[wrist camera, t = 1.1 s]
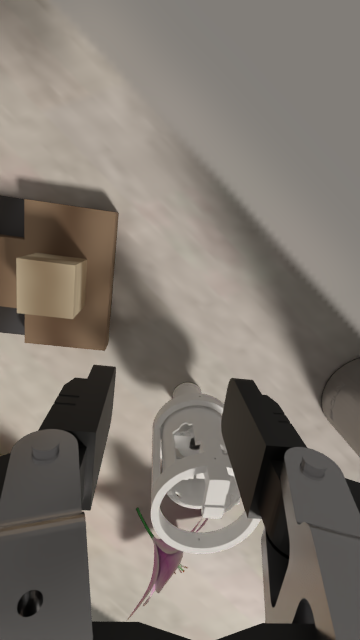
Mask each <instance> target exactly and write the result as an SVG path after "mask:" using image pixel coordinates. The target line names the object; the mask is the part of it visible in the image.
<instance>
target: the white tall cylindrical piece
mask: <svg viewBox="0 0 360 640" xmlns="http://www.w3.org/2000/svg"><path fill="white" fill-rule="evenodd" d="M223 408H224V404H223V403H222V402H221V401H220V400H218V399H216V398H215V397H212V396H210V395H207V394H202V392H201V389H200V388H199V387H198V386H197V385H196V384H193V383H182V384H180V385H179V386H177V387H176V388H175V390H174V392H173V399H172V400H170V401H168V402H167V403H166V404H165V405H164V406H163V407H162V408H161V409H160V410H159V411H158V413H157V415H156V417H155V419H154V423H153V436H152V480H151V521H152V525H153V528H154V530H155V532H156V533H157V535H158V536H159V537H160V538H161V539H162V540H163V541H164V542H165V543H166V544H168V545H169V546H171V547H173V548H175V549H177V550H180V551H183V552H187V553H194V554H209V553H215V552H220V551H223V550H226V549H229V548H231V547H233V546H235V545H237V544H239V543H240V542H242V541H243V540H244V539H246V538H247V537H248V536H249V535H250V534H251V533H252V532H253V531H254V529H255V528H256V527H257V525H258V523H259V521H260V519H253V518H247V515H246V512H245V511H244V513H243V514H242V515H241V516H240V517H239V518H238V519H237V520H236V521H235V522H233V523H232V524H230V525H228V526H226V527H224V528H222V529H219V530H216V531H212V532H205V533H196V532H189V531H185V530H182V529H179V528H177V527H176V526H174V525H172V524H171V523H170V522H169V521H168V520H167V519H166V518H165V517H164V515H163V514H162V512H161V510H160V504H161V501H162V499H163V498H164V496H165V494H166V493H167V495H168V496H169V498H170V499H171V500H173V501H174V502H175V503H177V504H179V505H181V506H183V507H187V508H192V509H201V513H202V518H212V519H221V518H222V515H223V514H224V513H225V512H227V511H228V510H230V509H231V508H232V507H233V506H234V505H239V503H240V497H241V495H240V492H239V489H238V486H237V482H236V479H235V476H234V473H233V469H232V466H231V463H230V460H229V456H228V453H227V450H226V446H225V443H224V440H223V437H222V432H221V419H222V415H221V414H222V413H223ZM161 439H162V442H161ZM160 458H161V459H162V474H161V475H160ZM176 494H178V495H179V496H180V497H178V496H177V495H176Z"/></svg>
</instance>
